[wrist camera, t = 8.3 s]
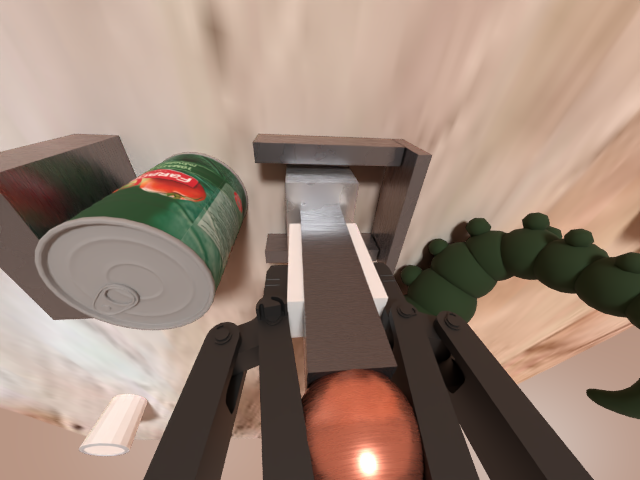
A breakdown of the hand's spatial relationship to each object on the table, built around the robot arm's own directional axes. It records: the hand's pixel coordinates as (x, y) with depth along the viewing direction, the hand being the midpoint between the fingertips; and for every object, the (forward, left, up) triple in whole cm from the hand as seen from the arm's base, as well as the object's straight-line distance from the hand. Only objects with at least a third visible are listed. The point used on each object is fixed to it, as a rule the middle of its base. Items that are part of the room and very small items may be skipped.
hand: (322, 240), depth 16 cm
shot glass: (-41, +33, -7) cm, 53 cm away
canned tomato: (0, +10, -7) cm, 13 cm away
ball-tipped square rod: (0, 0, -7) cm, 7 cm away
